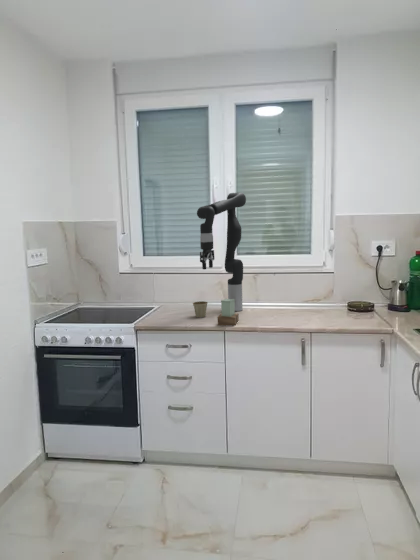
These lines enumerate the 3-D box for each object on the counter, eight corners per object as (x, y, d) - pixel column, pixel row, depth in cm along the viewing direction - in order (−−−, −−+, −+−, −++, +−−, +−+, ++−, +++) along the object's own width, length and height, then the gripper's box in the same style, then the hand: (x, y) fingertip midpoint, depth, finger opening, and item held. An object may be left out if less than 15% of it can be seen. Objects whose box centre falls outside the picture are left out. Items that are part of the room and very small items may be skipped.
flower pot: (194, 318, 251) (194, 304, 250) (191, 315, 260) (190, 302, 259) (210, 317, 254) (209, 303, 252) (206, 314, 263) (205, 300, 261)
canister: (226, 313, 241) (225, 298, 239) (235, 314, 238) (234, 299, 237) (221, 315, 236) (220, 300, 235) (230, 316, 233) (230, 301, 232)
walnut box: (221, 321, 244) (221, 313, 243) (238, 322, 241) (238, 313, 240) (217, 325, 234) (217, 317, 233) (235, 326, 232) (235, 317, 231)
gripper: (206, 240, 254) (207, 267, 256) (195, 241, 241) (196, 269, 243) (217, 240, 250) (218, 267, 252) (206, 241, 238) (207, 270, 240)
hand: (207, 268), depth 248 cm, fingers open, 8 cm apart
